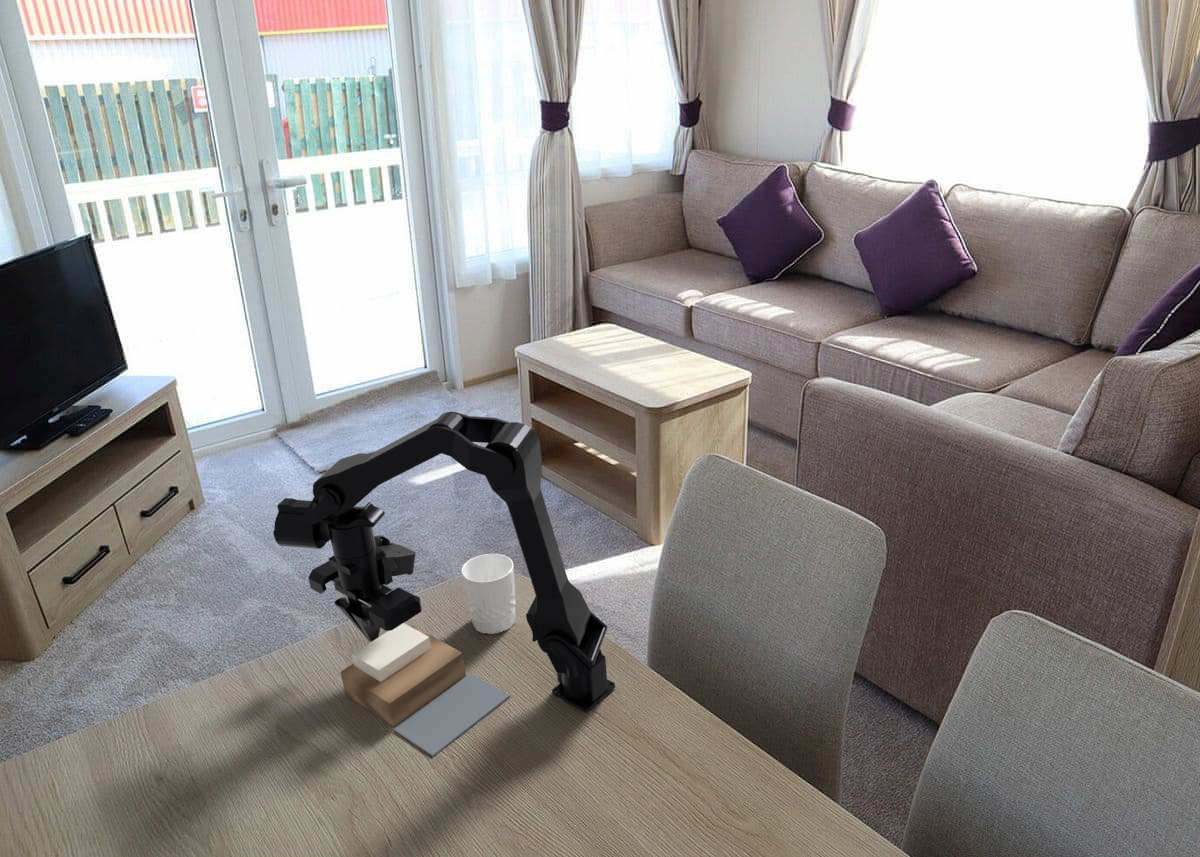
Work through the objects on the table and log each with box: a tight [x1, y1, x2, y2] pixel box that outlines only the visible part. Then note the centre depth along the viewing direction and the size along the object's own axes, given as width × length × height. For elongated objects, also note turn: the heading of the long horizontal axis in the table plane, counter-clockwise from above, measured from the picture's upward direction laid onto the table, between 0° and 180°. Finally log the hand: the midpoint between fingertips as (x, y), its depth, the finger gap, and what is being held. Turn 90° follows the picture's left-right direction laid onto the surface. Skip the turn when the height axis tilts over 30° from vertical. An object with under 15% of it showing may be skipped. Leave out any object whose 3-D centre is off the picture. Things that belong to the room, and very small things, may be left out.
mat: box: [393, 672, 511, 757], centre depth 126 cm, size 8×14×1 cm, turn 140°
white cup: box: [461, 553, 517, 635], centre depth 142 cm, size 8×8×10 cm
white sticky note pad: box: [351, 622, 431, 682], centre depth 131 cm, size 6×9×2 cm, turn 140°
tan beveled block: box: [340, 625, 467, 728], centre depth 131 cm, size 11×13×4 cm
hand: (373, 640), depth 134 cm, fingers closed
